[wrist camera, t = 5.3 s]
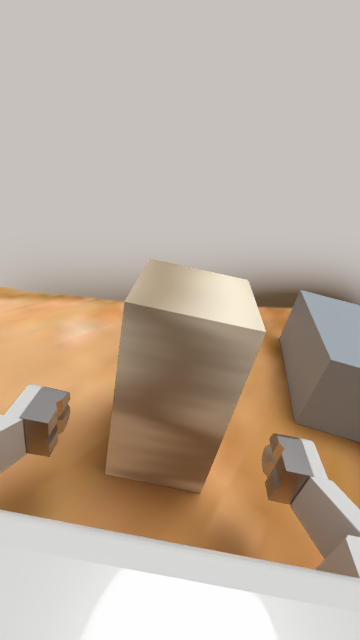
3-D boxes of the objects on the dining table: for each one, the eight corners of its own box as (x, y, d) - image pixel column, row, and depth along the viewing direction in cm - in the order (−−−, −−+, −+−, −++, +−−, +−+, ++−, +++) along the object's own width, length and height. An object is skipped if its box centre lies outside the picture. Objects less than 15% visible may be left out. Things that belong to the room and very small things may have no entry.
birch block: (201, 418, 19) (248, 280, 14) (200, 493, 15) (265, 331, 10) (128, 402, 19) (149, 258, 14) (104, 474, 15) (124, 301, 10)
